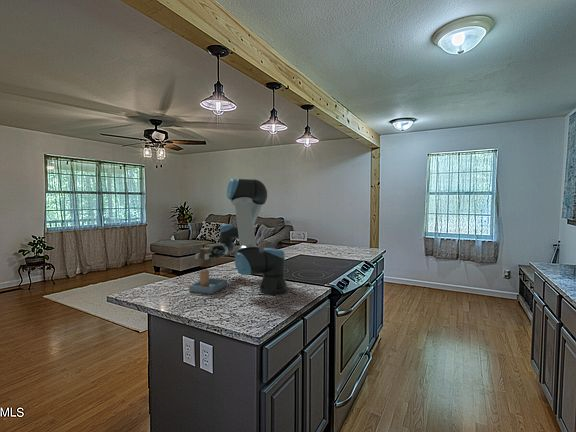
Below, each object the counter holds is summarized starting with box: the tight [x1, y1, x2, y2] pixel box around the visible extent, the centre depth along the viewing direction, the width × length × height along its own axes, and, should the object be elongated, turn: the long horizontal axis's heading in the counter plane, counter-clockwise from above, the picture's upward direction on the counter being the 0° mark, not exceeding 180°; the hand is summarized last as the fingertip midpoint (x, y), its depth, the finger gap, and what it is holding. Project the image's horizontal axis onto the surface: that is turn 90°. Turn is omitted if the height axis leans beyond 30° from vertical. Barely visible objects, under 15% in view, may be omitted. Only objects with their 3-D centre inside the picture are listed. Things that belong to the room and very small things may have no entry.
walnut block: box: [198, 247, 213, 268], centre depth 179 cm, size 5×5×10 cm
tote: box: [188, 277, 228, 295], centre depth 176 cm, size 14×18×4 cm
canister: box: [198, 269, 210, 287], centre depth 171 cm, size 5×5×10 cm
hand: (200, 256), depth 174 cm, fingers closed on walnut block, 5 cm apart
